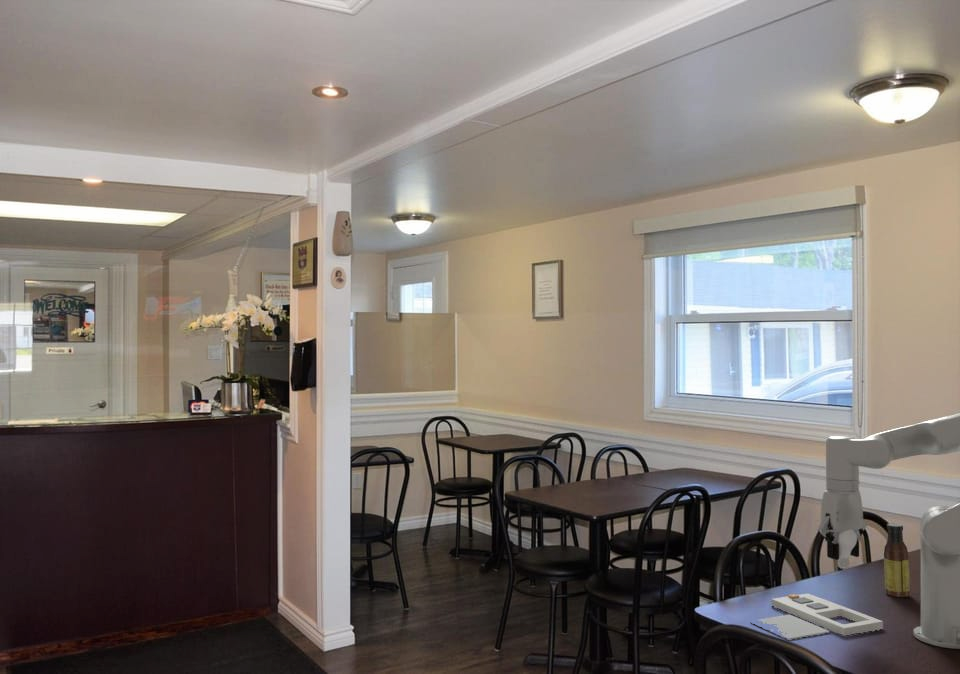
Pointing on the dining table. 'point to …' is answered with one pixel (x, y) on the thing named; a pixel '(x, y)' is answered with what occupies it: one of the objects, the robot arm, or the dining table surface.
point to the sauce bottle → (896, 563)
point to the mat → (794, 626)
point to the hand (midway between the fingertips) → (843, 556)
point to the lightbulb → (845, 547)
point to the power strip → (826, 613)
